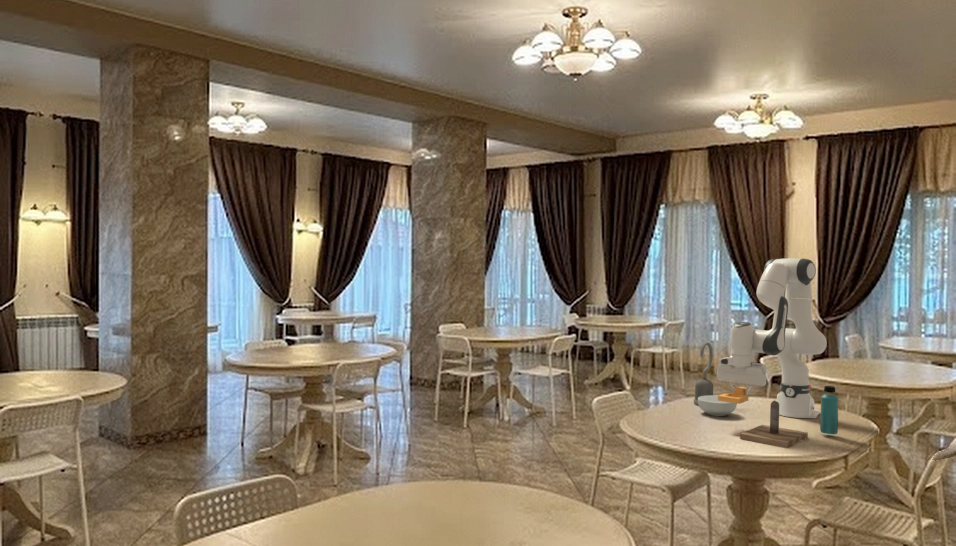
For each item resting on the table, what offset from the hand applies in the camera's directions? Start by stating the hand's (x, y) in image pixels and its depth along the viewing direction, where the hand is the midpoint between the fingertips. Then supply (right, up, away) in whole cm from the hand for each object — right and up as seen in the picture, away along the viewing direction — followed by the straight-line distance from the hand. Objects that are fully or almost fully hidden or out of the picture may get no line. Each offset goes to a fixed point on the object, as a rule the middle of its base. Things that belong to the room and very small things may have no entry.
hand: (740, 393), depth 301 cm
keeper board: (+6, -14, -19) cm, 25 cm away
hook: (-1, -13, +45) cm, 47 cm away
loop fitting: (-3, -2, -3) cm, 5 cm away
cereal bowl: (-2, -13, +23) cm, 27 cm away
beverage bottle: (+30, -15, -14) cm, 36 cm away
